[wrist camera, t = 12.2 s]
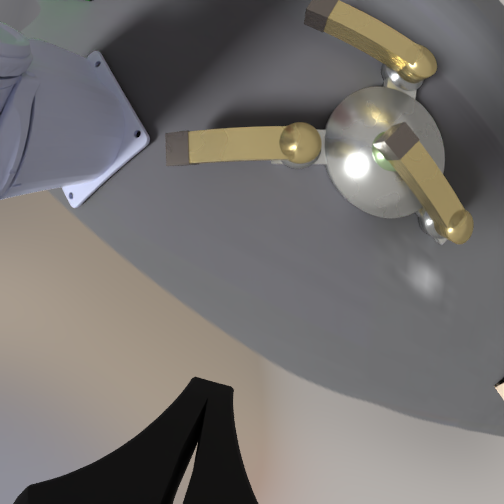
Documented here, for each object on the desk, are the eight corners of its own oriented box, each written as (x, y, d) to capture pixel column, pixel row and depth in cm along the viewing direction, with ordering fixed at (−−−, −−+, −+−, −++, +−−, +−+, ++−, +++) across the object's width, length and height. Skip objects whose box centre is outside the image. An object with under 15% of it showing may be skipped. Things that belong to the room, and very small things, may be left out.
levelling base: (245, 122, 16) (242, 118, 14) (403, 46, 13) (410, 39, 12) (345, 294, 18) (350, 304, 17) (480, 210, 16) (491, 214, 14)
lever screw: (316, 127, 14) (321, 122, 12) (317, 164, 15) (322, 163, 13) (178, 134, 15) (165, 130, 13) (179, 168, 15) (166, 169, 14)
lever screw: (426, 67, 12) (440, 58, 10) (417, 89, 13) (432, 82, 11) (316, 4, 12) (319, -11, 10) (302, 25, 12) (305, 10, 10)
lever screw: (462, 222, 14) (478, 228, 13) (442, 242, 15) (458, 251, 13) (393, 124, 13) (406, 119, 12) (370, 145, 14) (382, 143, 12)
